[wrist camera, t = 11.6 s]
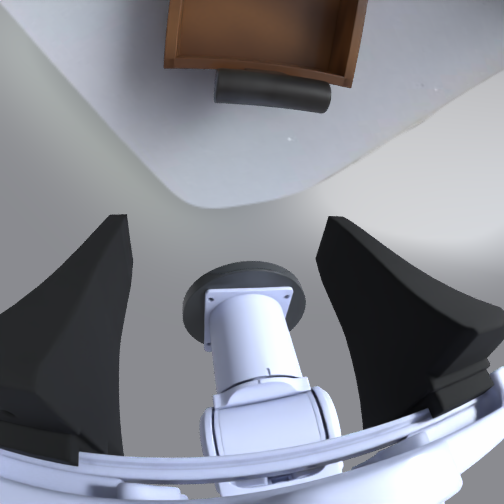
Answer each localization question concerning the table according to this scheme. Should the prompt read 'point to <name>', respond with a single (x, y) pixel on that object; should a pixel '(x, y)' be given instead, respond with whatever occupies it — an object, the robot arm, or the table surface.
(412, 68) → the table surface
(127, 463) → the robot arm
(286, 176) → the table surface
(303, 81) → the tray
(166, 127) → the table surface
